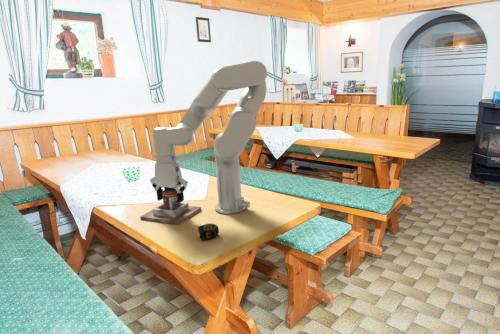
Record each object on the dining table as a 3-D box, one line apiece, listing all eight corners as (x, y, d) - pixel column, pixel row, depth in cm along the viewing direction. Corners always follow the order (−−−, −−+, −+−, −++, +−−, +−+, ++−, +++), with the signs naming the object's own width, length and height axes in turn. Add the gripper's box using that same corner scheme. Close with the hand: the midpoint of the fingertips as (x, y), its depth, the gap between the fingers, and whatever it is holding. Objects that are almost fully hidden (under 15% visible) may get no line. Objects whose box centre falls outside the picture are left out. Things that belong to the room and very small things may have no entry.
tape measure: (198, 234, 124) (197, 224, 123) (217, 231, 125) (216, 221, 124) (199, 242, 117) (199, 232, 116) (220, 239, 119) (219, 229, 118)
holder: (201, 210, 146) (200, 201, 145) (178, 225, 132) (177, 215, 131) (165, 205, 153) (164, 197, 152) (140, 219, 139) (139, 210, 138)
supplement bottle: (162, 211, 143) (159, 184, 140) (175, 208, 146) (172, 181, 144) (168, 215, 138) (165, 188, 136) (182, 211, 142) (179, 184, 139)
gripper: (190, 157, 137) (194, 199, 141) (154, 155, 144) (159, 195, 148) (178, 162, 130) (183, 205, 134) (141, 160, 137) (147, 201, 141)
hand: (170, 200), depth 141 cm, fingers open, 9 cm apart
